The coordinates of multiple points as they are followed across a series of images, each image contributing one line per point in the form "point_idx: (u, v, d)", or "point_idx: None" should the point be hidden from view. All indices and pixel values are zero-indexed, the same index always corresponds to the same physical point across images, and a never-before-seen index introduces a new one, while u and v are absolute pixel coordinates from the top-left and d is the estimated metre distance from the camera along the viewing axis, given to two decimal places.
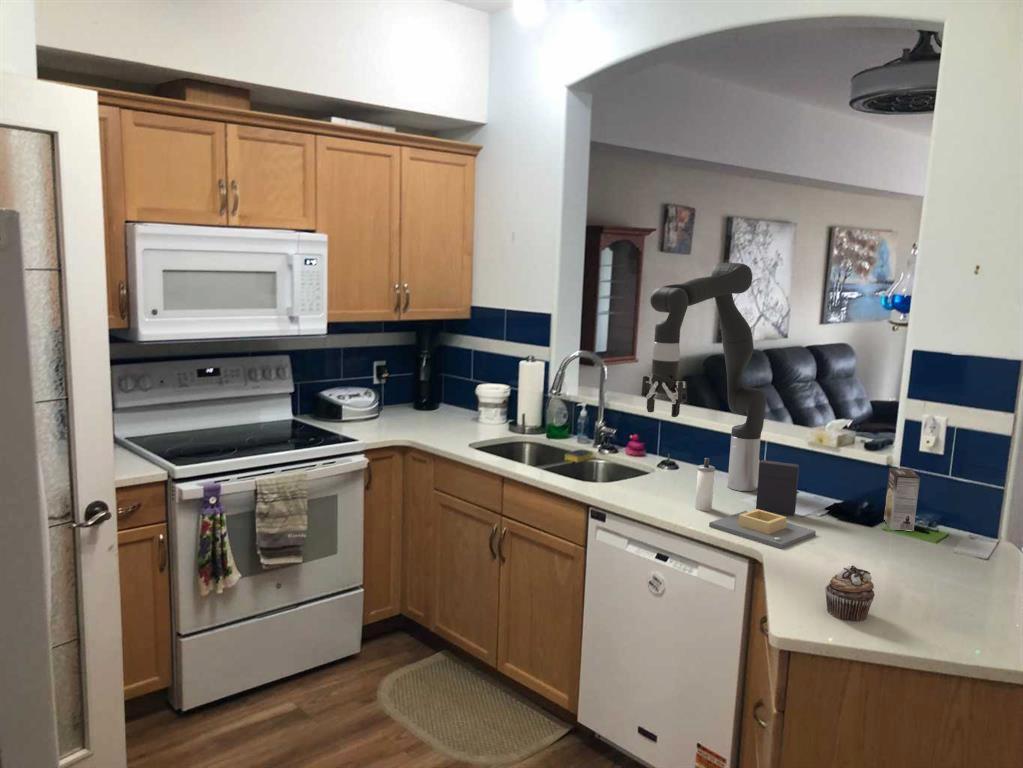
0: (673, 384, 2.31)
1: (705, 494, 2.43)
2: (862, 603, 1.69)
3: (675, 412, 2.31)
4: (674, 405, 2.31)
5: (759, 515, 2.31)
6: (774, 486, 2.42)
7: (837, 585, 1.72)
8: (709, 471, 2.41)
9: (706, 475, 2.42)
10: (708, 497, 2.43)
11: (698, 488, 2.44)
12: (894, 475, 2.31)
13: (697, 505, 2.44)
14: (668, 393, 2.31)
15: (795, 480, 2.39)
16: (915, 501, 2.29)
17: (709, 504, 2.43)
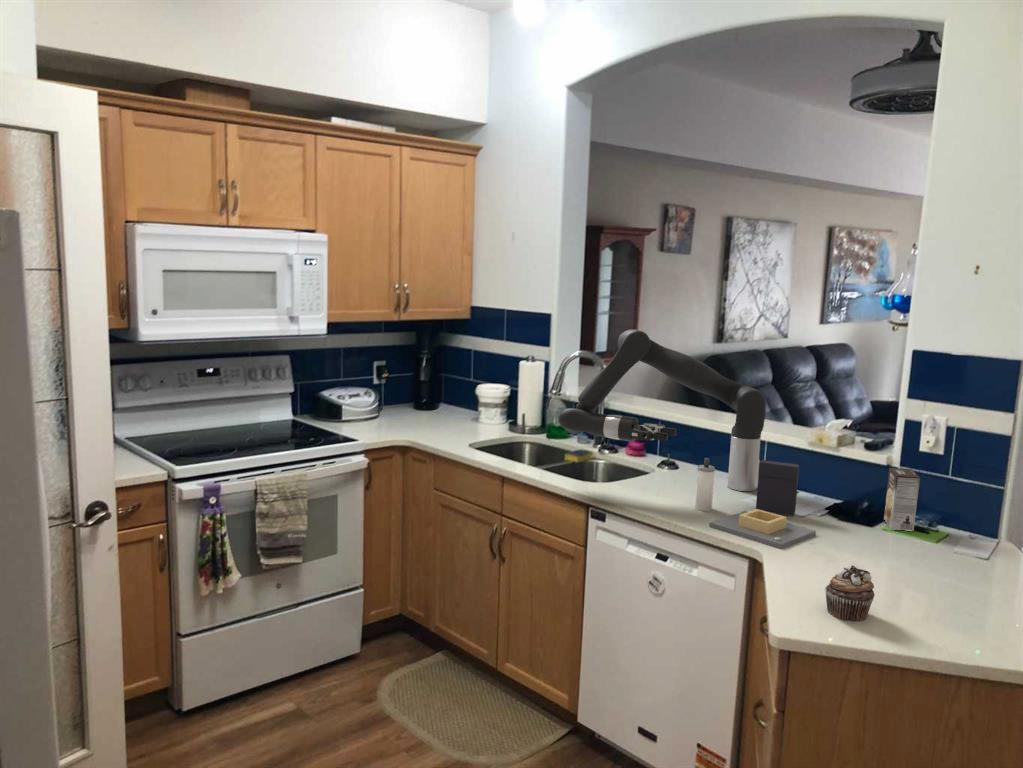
0: None
1: (705, 494, 2.43)
2: (862, 603, 1.69)
3: None
4: (655, 438, 2.45)
5: (759, 515, 2.31)
6: (774, 486, 2.42)
7: (837, 585, 1.72)
8: (709, 471, 2.41)
9: (706, 475, 2.42)
10: (708, 497, 2.43)
11: (698, 488, 2.44)
12: (894, 475, 2.31)
13: (697, 505, 2.44)
14: None
15: (795, 480, 2.39)
16: (915, 501, 2.29)
17: (709, 504, 2.43)
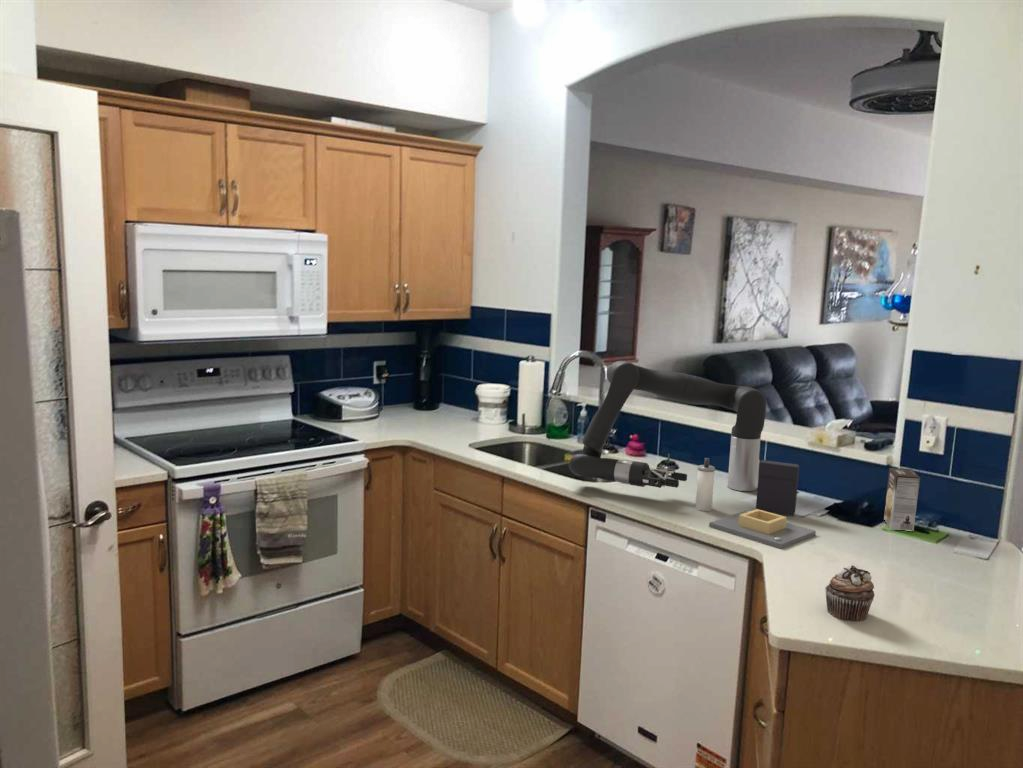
0: None
1: (705, 494, 2.43)
2: (862, 603, 1.69)
3: None
4: (666, 485, 2.45)
5: (759, 515, 2.31)
6: (774, 486, 2.42)
7: (837, 585, 1.72)
8: (709, 471, 2.41)
9: (706, 475, 2.42)
10: (708, 497, 2.43)
11: (698, 488, 2.44)
12: (894, 475, 2.31)
13: (697, 505, 2.44)
14: None
15: (795, 480, 2.39)
16: (915, 501, 2.29)
17: (709, 504, 2.43)
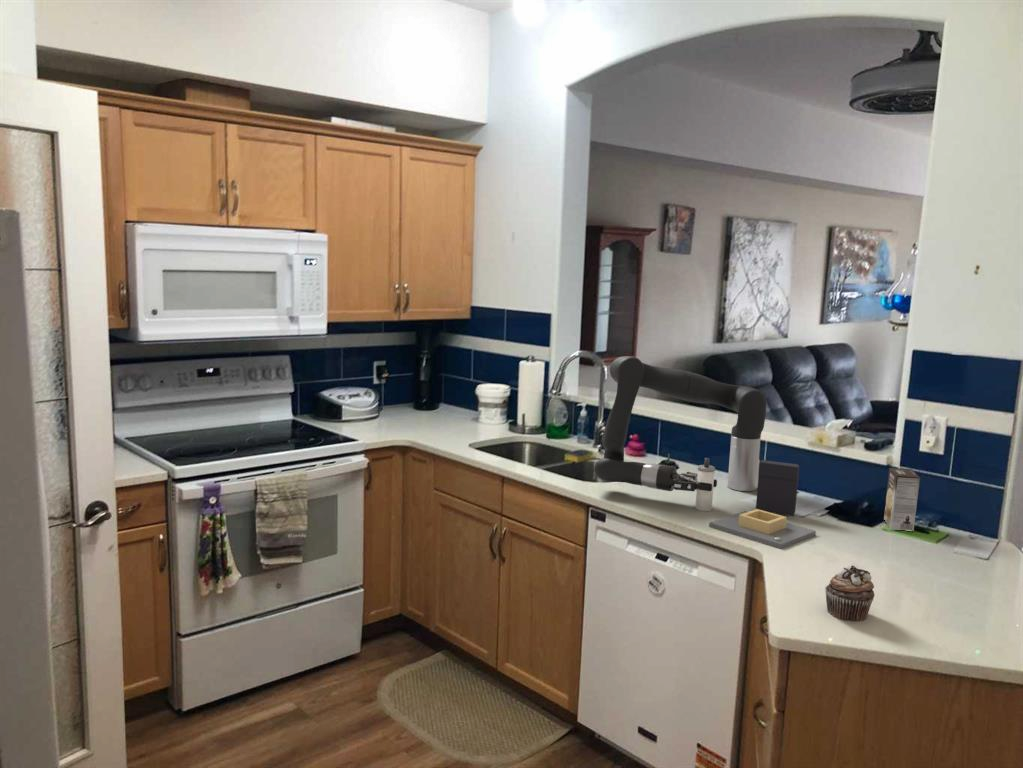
0: None
1: (705, 494, 2.43)
2: (862, 603, 1.69)
3: None
4: (700, 489, 2.42)
5: (759, 515, 2.31)
6: (774, 486, 2.42)
7: (837, 585, 1.72)
8: (709, 471, 2.41)
9: (706, 475, 2.42)
10: (708, 497, 2.43)
11: None
12: (894, 475, 2.31)
13: (697, 505, 2.44)
14: None
15: (795, 480, 2.39)
16: (915, 501, 2.29)
17: (709, 504, 2.43)
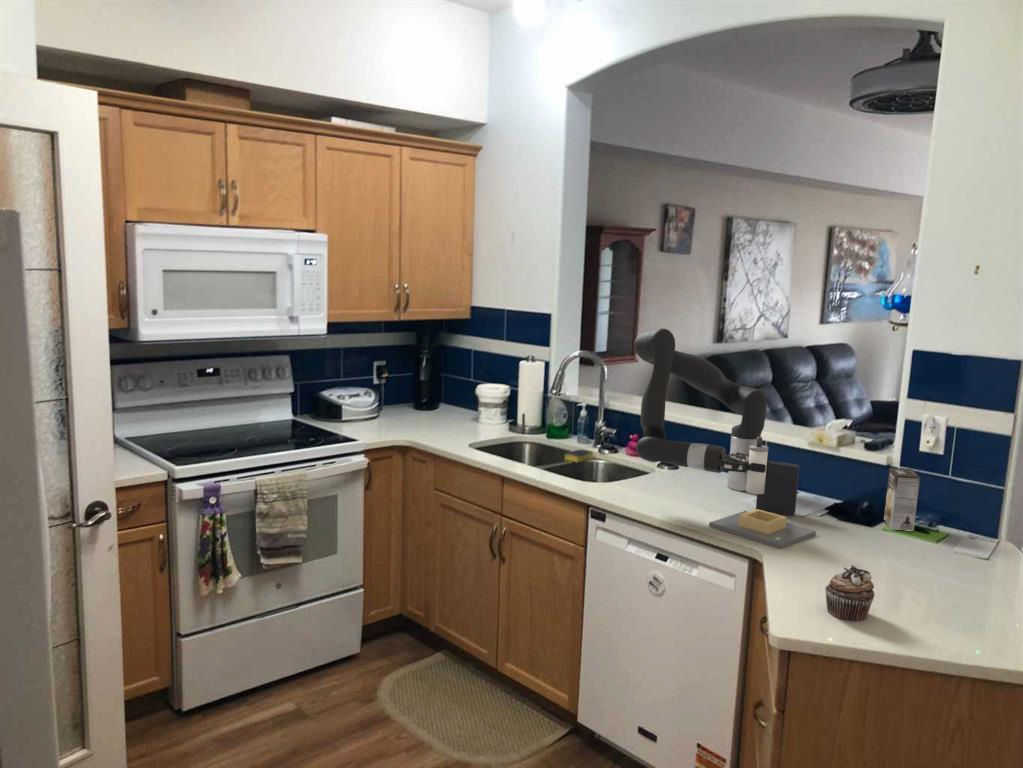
0: None
1: (757, 475, 2.24)
2: (862, 603, 1.69)
3: None
4: (752, 470, 2.24)
5: (759, 515, 2.31)
6: (774, 486, 2.42)
7: (837, 585, 1.72)
8: (762, 451, 2.23)
9: (759, 455, 2.24)
10: (761, 479, 2.25)
11: None
12: (894, 475, 2.31)
13: (748, 488, 2.26)
14: None
15: (795, 480, 2.39)
16: (915, 501, 2.29)
17: (762, 487, 2.25)
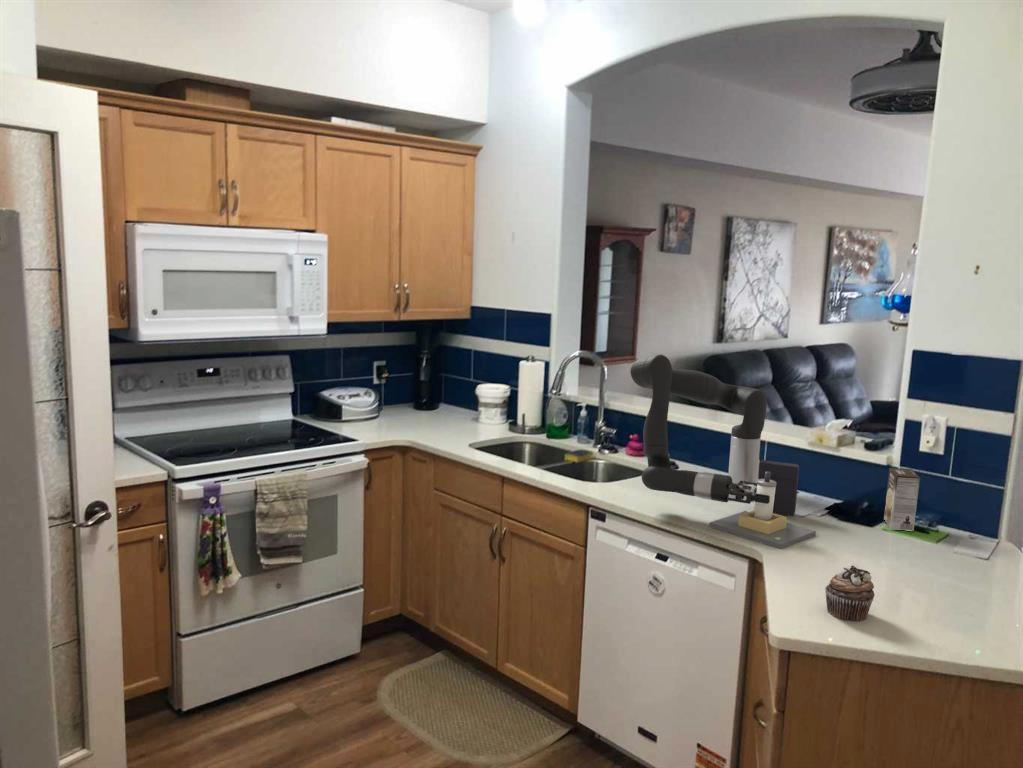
0: None
1: (765, 511, 2.24)
2: (862, 603, 1.69)
3: None
4: (756, 501, 2.22)
5: None
6: None
7: (837, 585, 1.72)
8: (770, 486, 2.22)
9: (767, 491, 2.23)
10: (768, 514, 2.24)
11: (757, 504, 2.25)
12: (894, 475, 2.31)
13: None
14: None
15: (795, 480, 2.39)
16: (915, 501, 2.29)
17: None
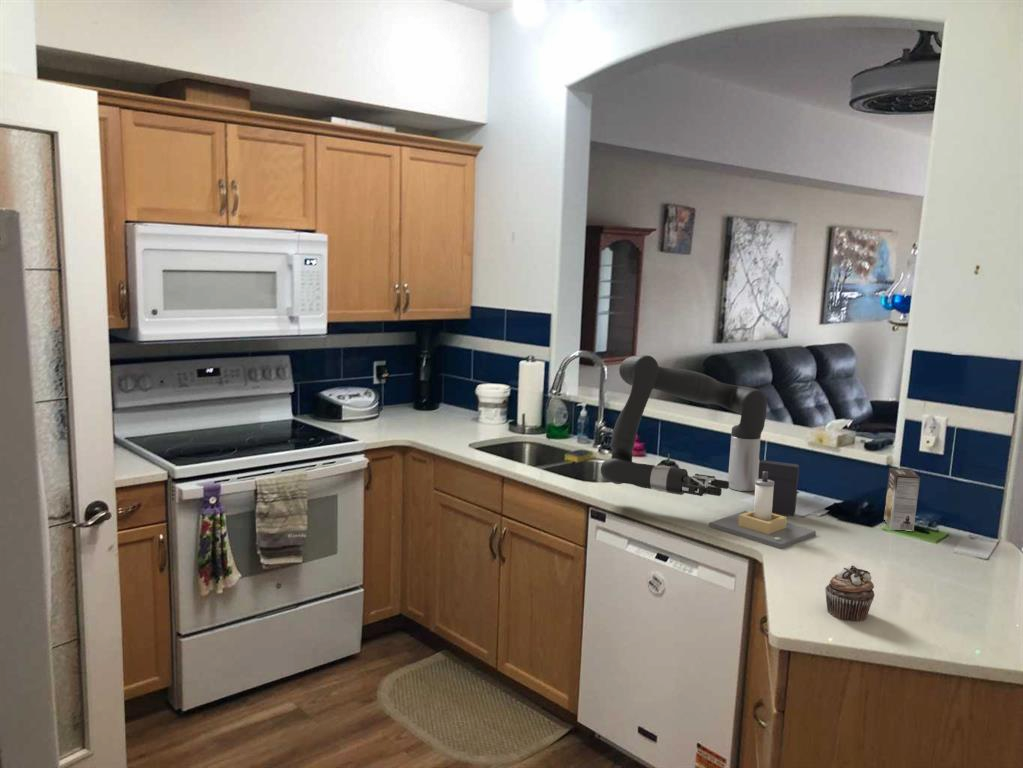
0: None
1: (764, 510, 2.24)
2: (862, 603, 1.69)
3: None
4: (708, 493, 2.28)
5: None
6: (774, 486, 2.42)
7: (837, 585, 1.72)
8: (768, 486, 2.23)
9: (765, 490, 2.23)
10: (768, 514, 2.24)
11: (756, 504, 2.25)
12: (894, 475, 2.31)
13: None
14: None
15: (795, 480, 2.39)
16: (915, 501, 2.29)
17: None
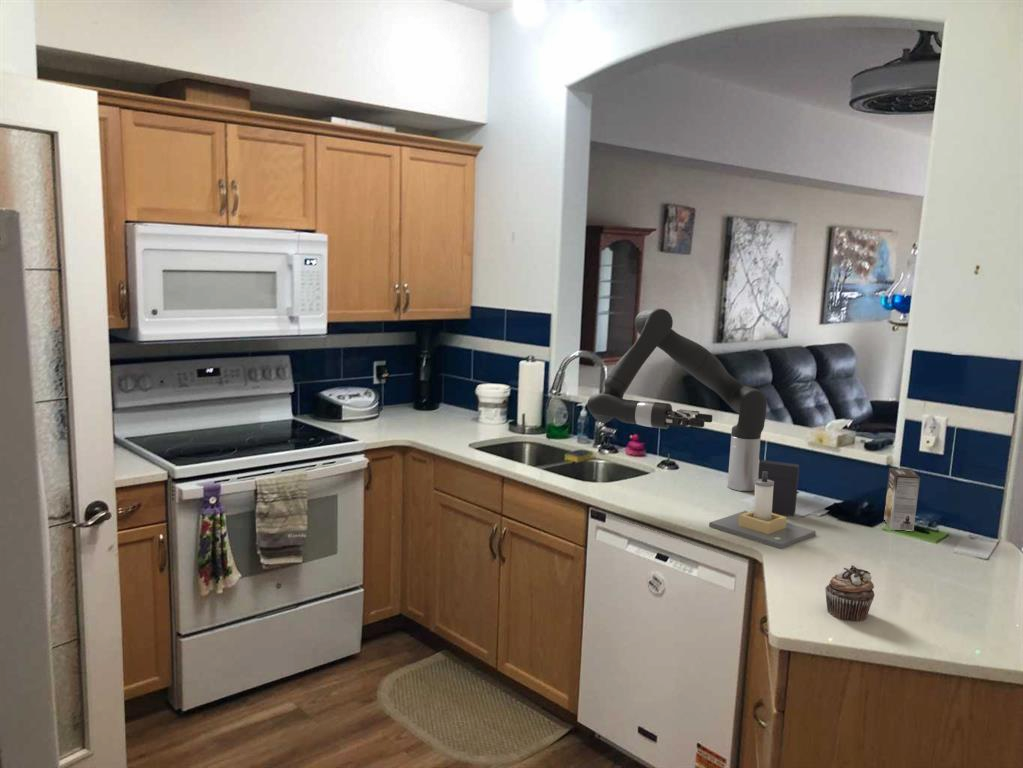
0: None
1: (763, 510, 2.24)
2: (862, 603, 1.69)
3: (698, 425, 2.31)
4: (691, 425, 2.32)
5: None
6: (774, 486, 2.42)
7: (837, 585, 1.72)
8: (768, 486, 2.23)
9: (765, 490, 2.23)
10: (767, 514, 2.24)
11: (756, 504, 2.25)
12: (894, 475, 2.31)
13: None
14: None
15: (795, 480, 2.39)
16: (915, 501, 2.29)
17: None
